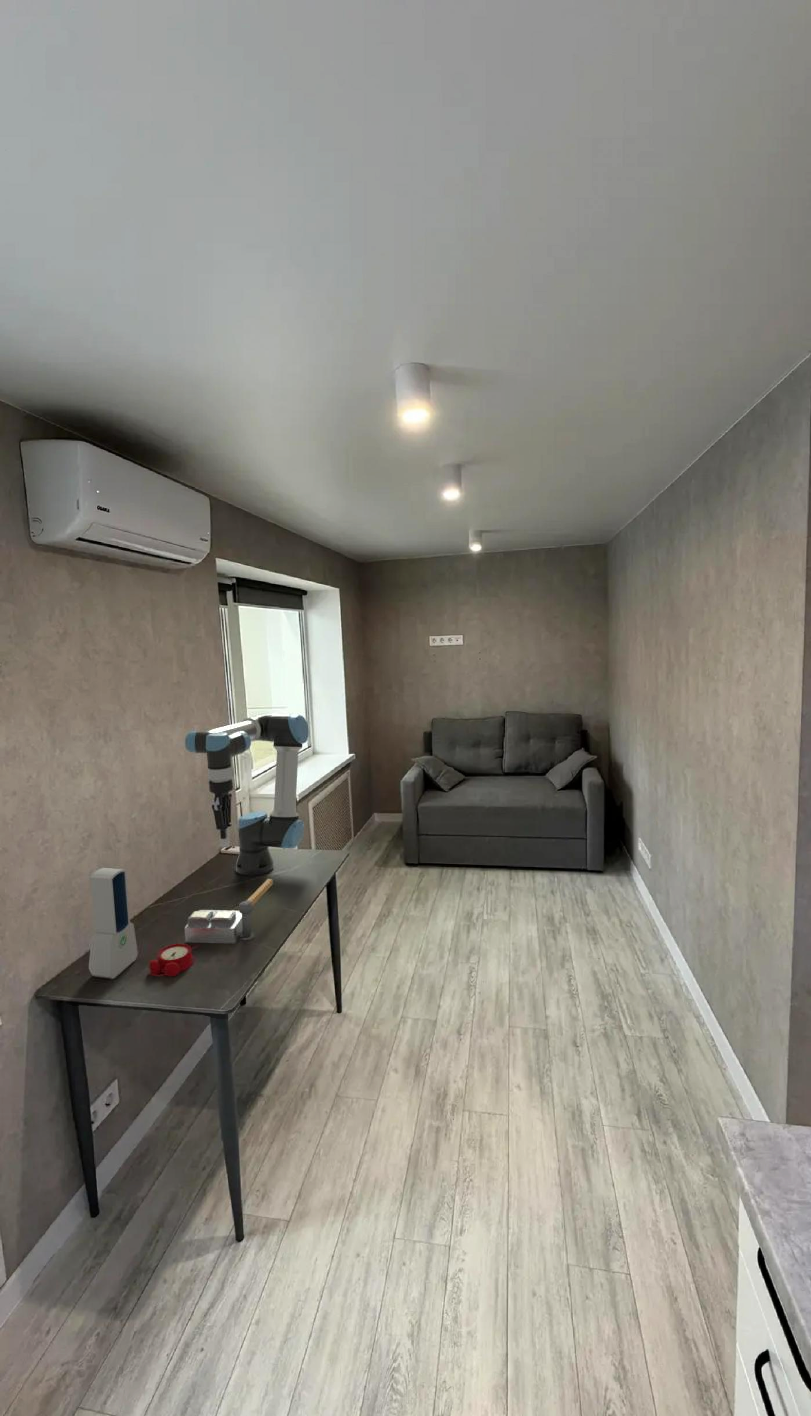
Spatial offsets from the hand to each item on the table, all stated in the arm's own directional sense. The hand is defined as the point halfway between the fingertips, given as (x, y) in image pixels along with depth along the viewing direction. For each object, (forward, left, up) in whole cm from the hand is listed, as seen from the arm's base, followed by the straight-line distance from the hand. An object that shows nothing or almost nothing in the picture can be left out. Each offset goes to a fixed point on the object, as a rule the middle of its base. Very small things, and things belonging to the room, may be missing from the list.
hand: (225, 846), depth 205 cm
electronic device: (+32, -23, -26) cm, 47 cm away
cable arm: (+3, +11, -25) cm, 28 cm away
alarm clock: (+31, -6, -26) cm, 41 cm away
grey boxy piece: (+11, +2, -26) cm, 28 cm away
